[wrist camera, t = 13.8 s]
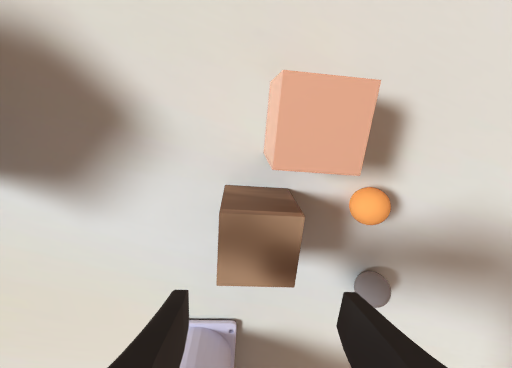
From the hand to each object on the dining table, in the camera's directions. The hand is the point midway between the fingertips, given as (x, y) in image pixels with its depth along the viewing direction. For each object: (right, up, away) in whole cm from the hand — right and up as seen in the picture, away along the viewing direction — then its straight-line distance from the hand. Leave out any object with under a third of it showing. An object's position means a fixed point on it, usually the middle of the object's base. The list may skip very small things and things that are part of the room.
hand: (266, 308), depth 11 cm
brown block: (-1, +3, +9) cm, 10 cm away
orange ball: (+8, +4, +10) cm, 14 cm away
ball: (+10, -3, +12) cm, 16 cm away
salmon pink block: (+3, +11, +7) cm, 13 cm away
